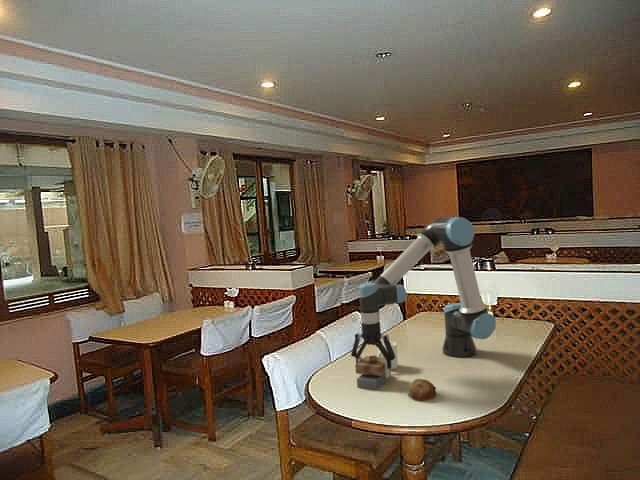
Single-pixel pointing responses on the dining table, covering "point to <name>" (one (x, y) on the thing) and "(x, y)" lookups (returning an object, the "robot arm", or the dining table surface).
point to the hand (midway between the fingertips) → (374, 374)
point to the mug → (394, 346)
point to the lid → (371, 366)
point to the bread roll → (421, 390)
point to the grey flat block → (371, 381)
